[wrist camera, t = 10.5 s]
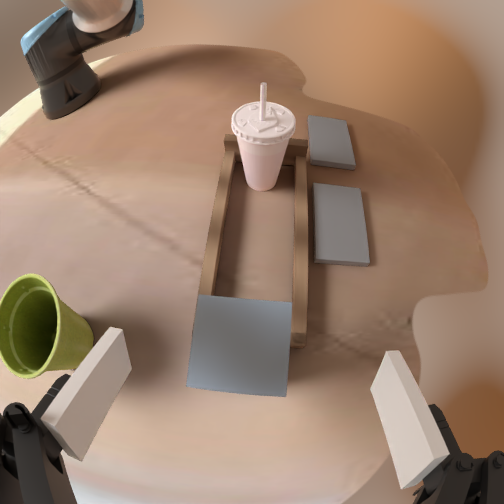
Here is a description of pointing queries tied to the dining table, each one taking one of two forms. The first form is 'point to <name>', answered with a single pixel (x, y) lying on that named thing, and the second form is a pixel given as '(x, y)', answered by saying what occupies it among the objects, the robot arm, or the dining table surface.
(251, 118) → the smoothie
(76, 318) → the plant pot
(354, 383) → the dining table surface
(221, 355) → the sled
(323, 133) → the broken strip
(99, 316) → the dining table surface
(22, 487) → the robot arm
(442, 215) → the dining table surface
